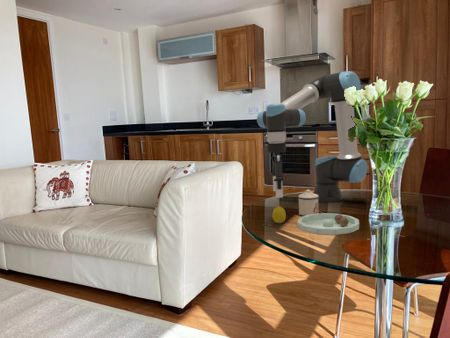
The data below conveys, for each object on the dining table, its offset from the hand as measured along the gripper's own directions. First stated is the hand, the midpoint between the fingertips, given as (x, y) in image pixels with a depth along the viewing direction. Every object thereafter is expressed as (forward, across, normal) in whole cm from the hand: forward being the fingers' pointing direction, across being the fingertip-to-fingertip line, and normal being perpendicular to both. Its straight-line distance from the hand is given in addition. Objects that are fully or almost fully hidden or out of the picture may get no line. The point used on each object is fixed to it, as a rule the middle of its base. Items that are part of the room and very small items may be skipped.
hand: (277, 194), depth 149 cm
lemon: (+13, 0, 0) cm, 13 cm away
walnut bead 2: (+12, +8, +24) cm, 28 cm away
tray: (+13, +7, +19) cm, 24 cm away
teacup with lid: (+13, -15, +15) cm, 25 cm away
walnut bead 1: (+12, +4, +24) cm, 27 cm away
